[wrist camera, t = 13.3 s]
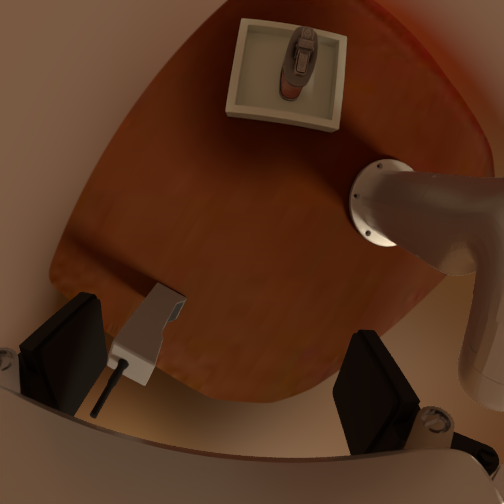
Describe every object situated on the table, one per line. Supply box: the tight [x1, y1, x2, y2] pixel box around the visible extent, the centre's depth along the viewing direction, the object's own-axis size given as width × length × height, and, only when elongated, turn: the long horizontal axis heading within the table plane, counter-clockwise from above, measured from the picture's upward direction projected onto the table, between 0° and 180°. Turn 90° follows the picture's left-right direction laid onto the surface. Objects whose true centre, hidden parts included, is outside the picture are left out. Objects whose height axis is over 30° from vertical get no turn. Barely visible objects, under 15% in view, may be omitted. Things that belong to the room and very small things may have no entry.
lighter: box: [279, 26, 318, 101], centre depth 28 cm, size 8×3×10 cm, turn 169°
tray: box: [225, 18, 347, 133], centre depth 32 cm, size 14×14×4 cm
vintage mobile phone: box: [90, 283, 187, 418], centre depth 30 cm, size 4×5×25 cm
